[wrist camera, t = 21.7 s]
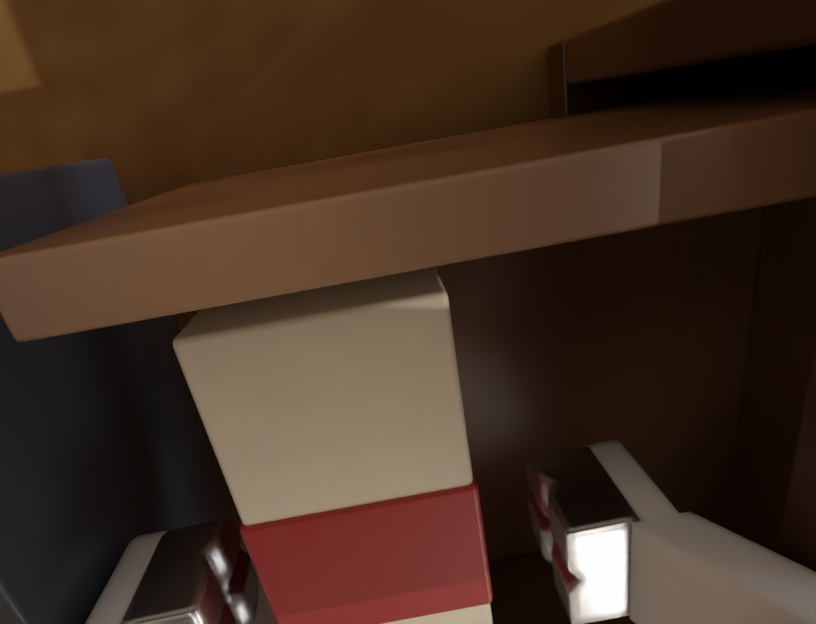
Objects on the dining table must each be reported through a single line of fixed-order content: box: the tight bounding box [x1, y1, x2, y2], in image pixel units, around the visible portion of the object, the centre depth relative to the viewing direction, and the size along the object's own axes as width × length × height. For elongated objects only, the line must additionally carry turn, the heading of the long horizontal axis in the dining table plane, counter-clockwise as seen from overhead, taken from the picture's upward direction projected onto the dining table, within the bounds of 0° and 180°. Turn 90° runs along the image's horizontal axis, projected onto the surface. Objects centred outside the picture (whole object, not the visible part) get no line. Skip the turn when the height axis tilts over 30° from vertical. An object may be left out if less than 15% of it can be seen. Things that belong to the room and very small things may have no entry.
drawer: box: [0, 73, 816, 624], centre depth 9 cm, size 20×12×6 cm, turn 99°
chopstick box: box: [173, 267, 493, 624], centre depth 9 cm, size 8×3×4 cm, turn 9°
